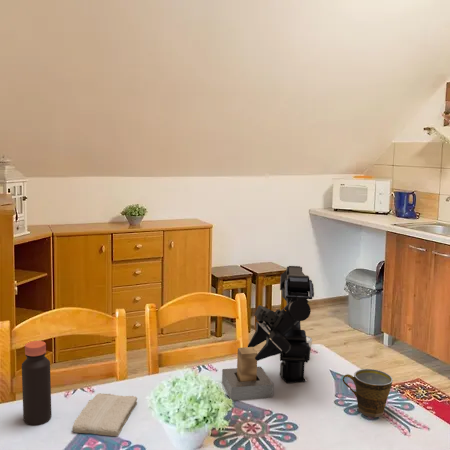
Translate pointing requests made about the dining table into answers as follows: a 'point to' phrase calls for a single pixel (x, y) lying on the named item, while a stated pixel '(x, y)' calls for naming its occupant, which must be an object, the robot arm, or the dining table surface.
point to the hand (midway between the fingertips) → (252, 353)
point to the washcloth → (105, 414)
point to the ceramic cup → (371, 390)
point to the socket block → (247, 385)
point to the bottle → (36, 384)
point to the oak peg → (246, 364)
